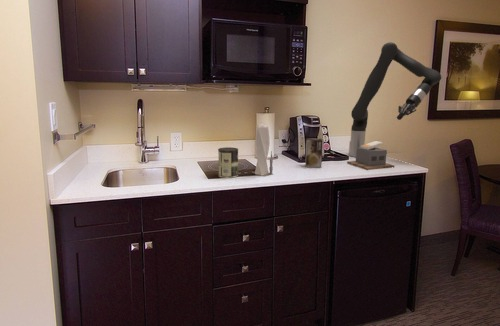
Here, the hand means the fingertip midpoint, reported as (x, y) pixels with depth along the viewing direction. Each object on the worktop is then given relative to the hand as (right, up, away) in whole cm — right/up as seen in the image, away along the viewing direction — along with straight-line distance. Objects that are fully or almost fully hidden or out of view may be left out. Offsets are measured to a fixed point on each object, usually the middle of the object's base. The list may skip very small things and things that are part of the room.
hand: (398, 118), depth 220 cm
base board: (-17, -28, -1) cm, 33 cm away
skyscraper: (-82, -33, -26) cm, 92 cm away
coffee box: (-52, -29, -5) cm, 60 cm away
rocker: (-17, -16, -4) cm, 24 cm away
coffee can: (-100, -33, -30) cm, 110 cm away
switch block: (-17, -27, -1) cm, 32 cm away
